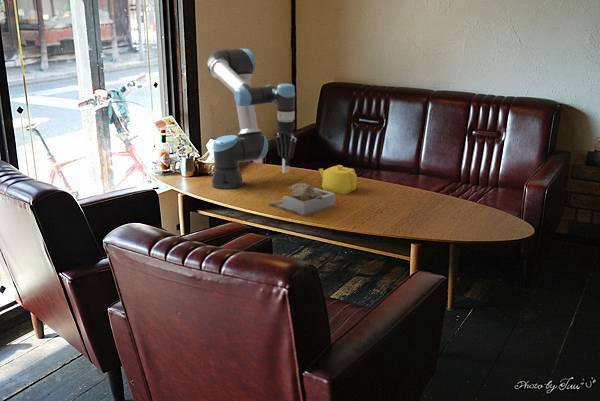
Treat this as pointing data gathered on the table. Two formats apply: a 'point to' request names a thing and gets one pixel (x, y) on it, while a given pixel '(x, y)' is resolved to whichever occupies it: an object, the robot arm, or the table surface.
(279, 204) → the cradle board
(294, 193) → the rock
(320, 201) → the cradle rails
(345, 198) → the table surface
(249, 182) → the table surface
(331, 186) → the teapot
